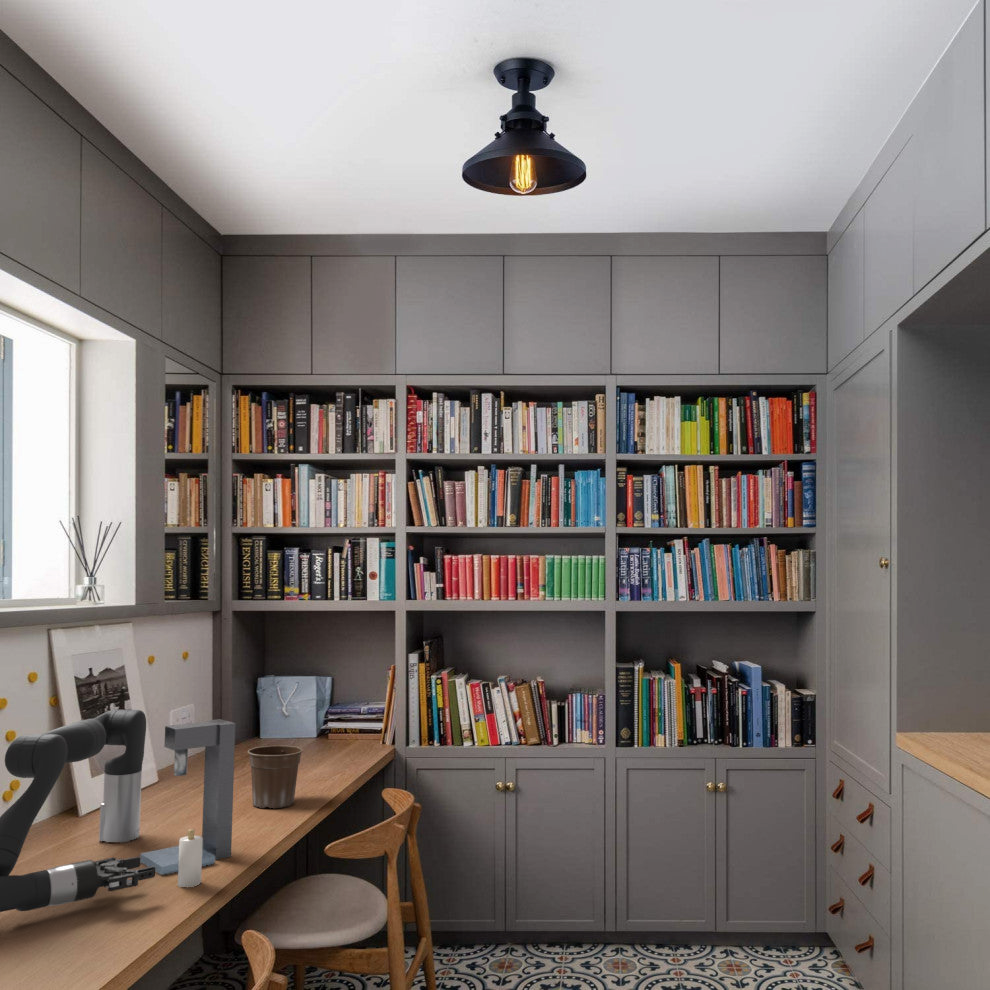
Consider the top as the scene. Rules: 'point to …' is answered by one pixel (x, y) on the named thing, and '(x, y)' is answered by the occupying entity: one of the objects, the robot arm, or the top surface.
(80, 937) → the top surface
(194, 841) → the white cylinder
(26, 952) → the top surface
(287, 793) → the plant pot
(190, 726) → the press
